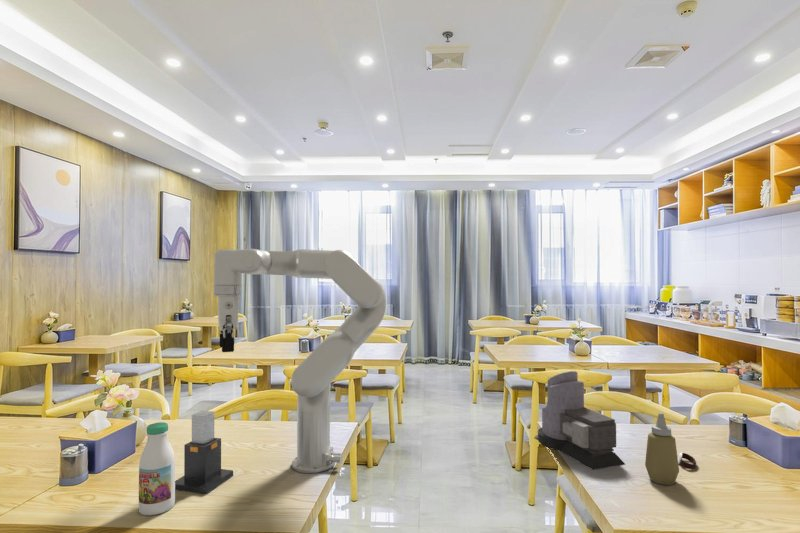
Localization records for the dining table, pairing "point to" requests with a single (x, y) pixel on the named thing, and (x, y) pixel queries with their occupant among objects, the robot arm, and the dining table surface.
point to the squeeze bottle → (661, 454)
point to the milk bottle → (157, 472)
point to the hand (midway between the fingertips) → (226, 349)
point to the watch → (685, 464)
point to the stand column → (203, 428)
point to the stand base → (202, 468)
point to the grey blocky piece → (577, 425)
